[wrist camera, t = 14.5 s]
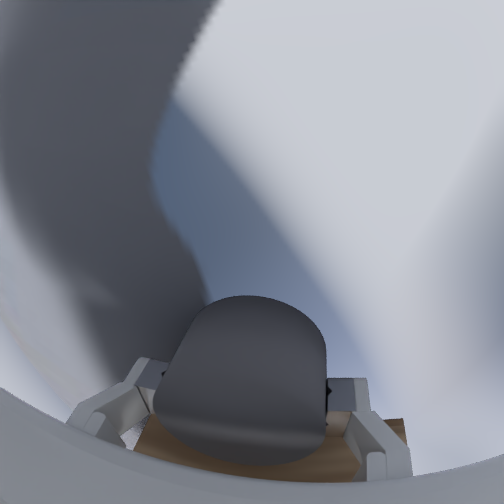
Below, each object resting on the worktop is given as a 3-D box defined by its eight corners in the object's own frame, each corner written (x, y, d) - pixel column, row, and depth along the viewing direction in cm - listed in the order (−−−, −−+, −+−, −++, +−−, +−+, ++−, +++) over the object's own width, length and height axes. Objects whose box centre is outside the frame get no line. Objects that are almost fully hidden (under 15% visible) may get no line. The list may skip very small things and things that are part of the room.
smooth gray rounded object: (177, 290, 12) (131, 358, 8) (333, 299, 11) (339, 383, 7) (199, 387, 14) (174, 451, 11) (318, 399, 13) (314, 470, 10)
